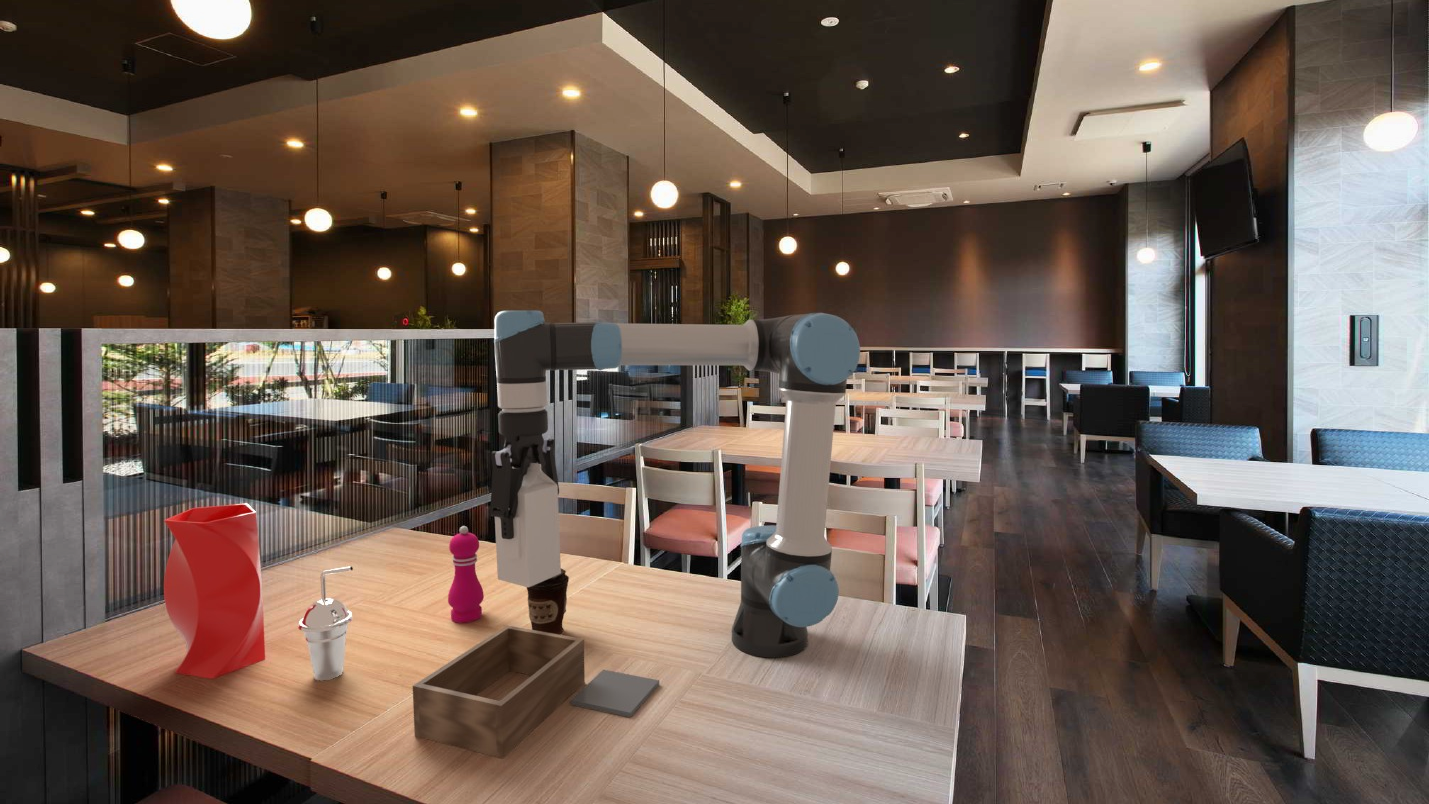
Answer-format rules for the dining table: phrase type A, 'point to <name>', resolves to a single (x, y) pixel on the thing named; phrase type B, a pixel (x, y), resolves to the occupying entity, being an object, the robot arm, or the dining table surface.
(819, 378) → the robot arm
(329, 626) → the cup with straw
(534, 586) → the coffee cup
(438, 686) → the crate
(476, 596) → the pepper mill
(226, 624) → the vase
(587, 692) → the coaster
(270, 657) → the dining table surface
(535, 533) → the milk carton
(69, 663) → the dining table surface
